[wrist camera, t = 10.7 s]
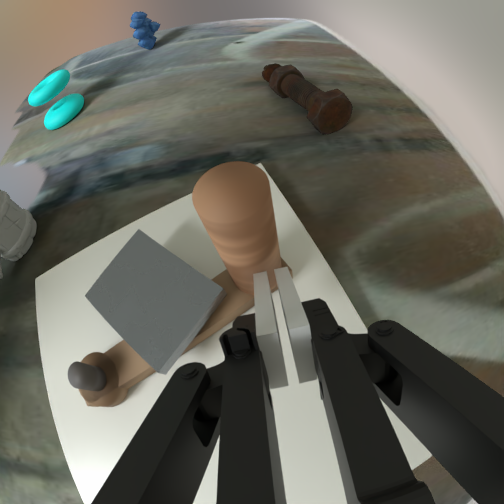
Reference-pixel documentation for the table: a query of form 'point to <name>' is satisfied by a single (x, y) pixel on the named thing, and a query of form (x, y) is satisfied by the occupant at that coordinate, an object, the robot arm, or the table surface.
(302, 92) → the bolt
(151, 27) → the blue knobby flower
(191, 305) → the block
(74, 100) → the donuts
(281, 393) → the base plate
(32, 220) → the mug
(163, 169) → the table surface
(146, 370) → the link
